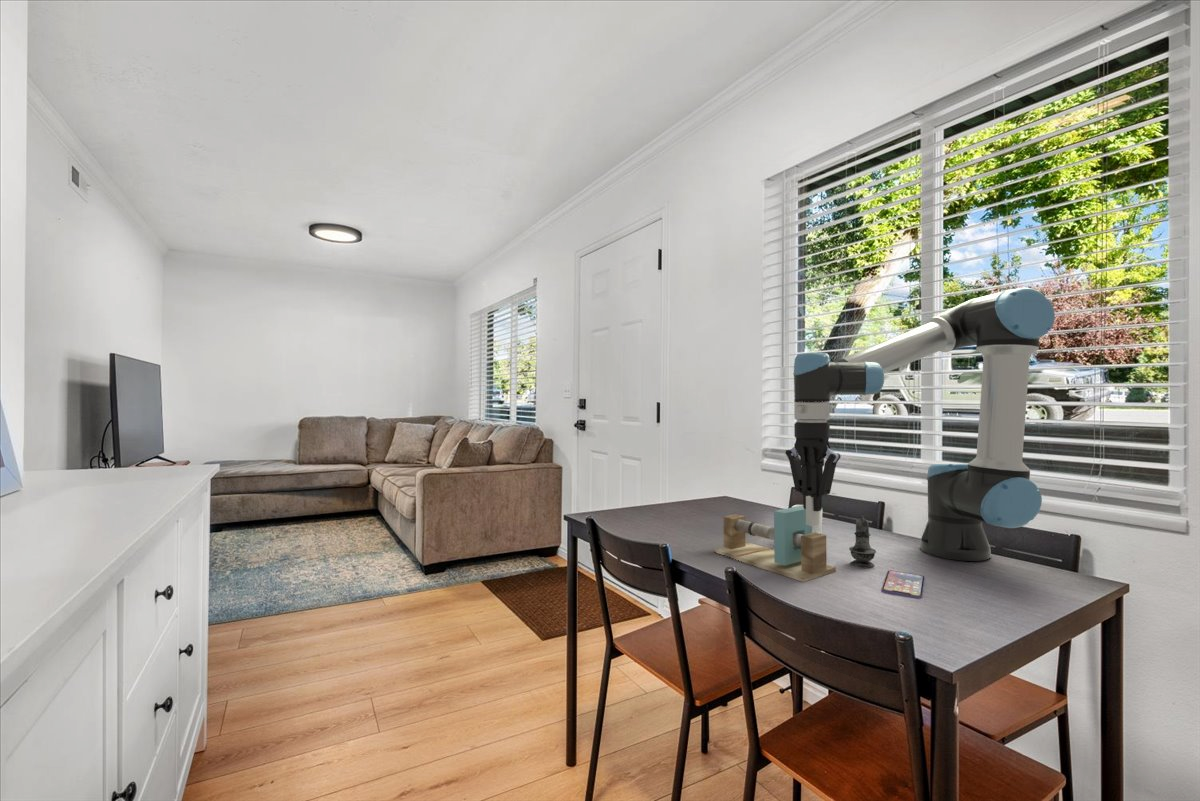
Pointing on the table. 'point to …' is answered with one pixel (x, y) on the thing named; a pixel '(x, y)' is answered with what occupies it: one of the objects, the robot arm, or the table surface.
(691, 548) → the table surface
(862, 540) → the black chess piece
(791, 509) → the collar
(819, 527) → the white cup
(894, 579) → the smartphone
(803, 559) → the pipe stand
